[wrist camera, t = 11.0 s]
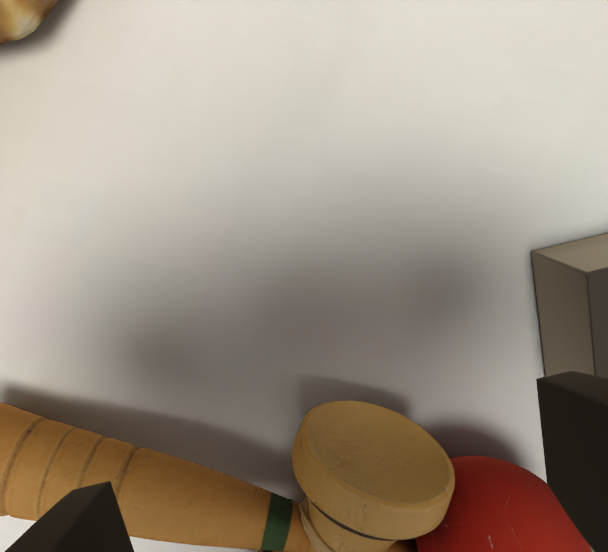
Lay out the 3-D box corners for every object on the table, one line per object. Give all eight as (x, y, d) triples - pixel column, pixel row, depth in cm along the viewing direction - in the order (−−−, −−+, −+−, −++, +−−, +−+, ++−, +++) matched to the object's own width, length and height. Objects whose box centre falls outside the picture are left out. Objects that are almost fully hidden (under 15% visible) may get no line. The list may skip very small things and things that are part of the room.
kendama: (6, 530, 19) (509, 644, 20) (-137, 662, 13) (609, 828, 13) (54, 313, 19) (562, 431, 19) (-66, 340, 13) (690, 515, 13)
